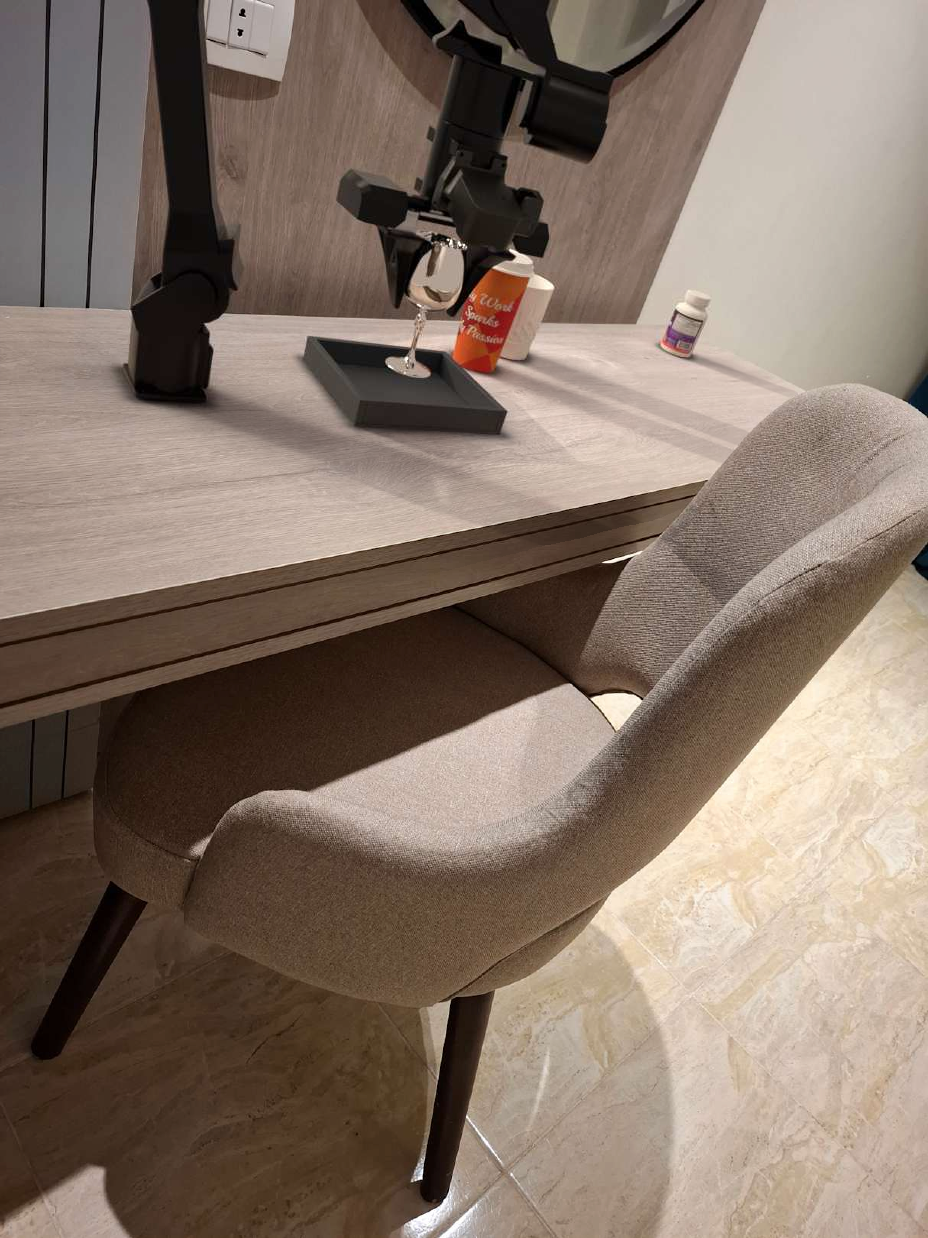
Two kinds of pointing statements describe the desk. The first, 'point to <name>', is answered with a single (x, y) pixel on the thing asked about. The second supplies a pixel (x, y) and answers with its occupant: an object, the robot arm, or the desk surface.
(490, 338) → the paper cup
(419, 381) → the tray
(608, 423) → the desk surface
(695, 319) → the pill bottle
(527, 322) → the white cup
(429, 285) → the wineglass
